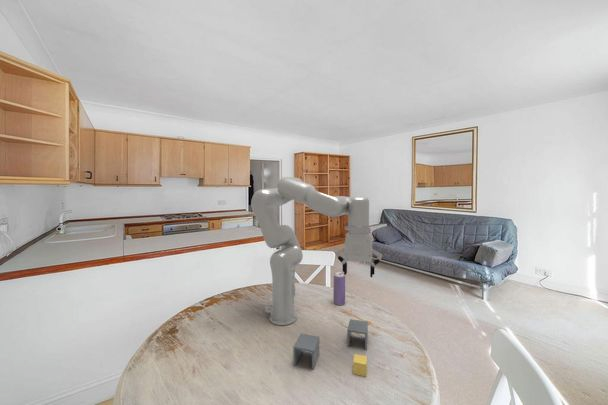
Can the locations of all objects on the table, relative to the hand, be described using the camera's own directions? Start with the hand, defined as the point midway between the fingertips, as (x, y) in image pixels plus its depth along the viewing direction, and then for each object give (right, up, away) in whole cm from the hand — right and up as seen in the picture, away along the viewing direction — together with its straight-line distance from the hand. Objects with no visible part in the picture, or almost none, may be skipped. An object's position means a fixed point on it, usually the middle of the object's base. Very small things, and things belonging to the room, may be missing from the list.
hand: (358, 274), depth 94 cm
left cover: (-20, -27, -8) cm, 34 cm away
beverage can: (-2, -25, +34) cm, 42 cm away
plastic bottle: (-29, -24, +44) cm, 58 cm away
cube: (-2, -27, -13) cm, 30 cm away
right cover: (0, -26, +2) cm, 26 cm away
